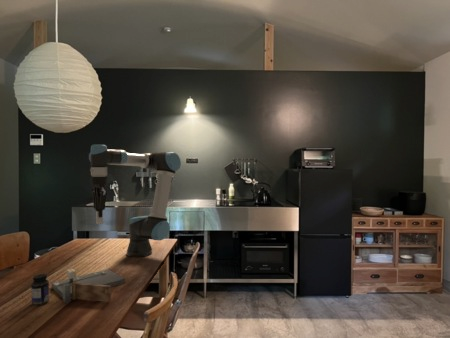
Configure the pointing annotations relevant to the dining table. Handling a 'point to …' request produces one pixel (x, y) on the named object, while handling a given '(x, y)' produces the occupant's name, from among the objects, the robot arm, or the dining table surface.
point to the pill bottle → (40, 290)
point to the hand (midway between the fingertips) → (99, 223)
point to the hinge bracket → (66, 293)
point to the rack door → (91, 292)
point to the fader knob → (71, 274)
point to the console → (90, 280)
